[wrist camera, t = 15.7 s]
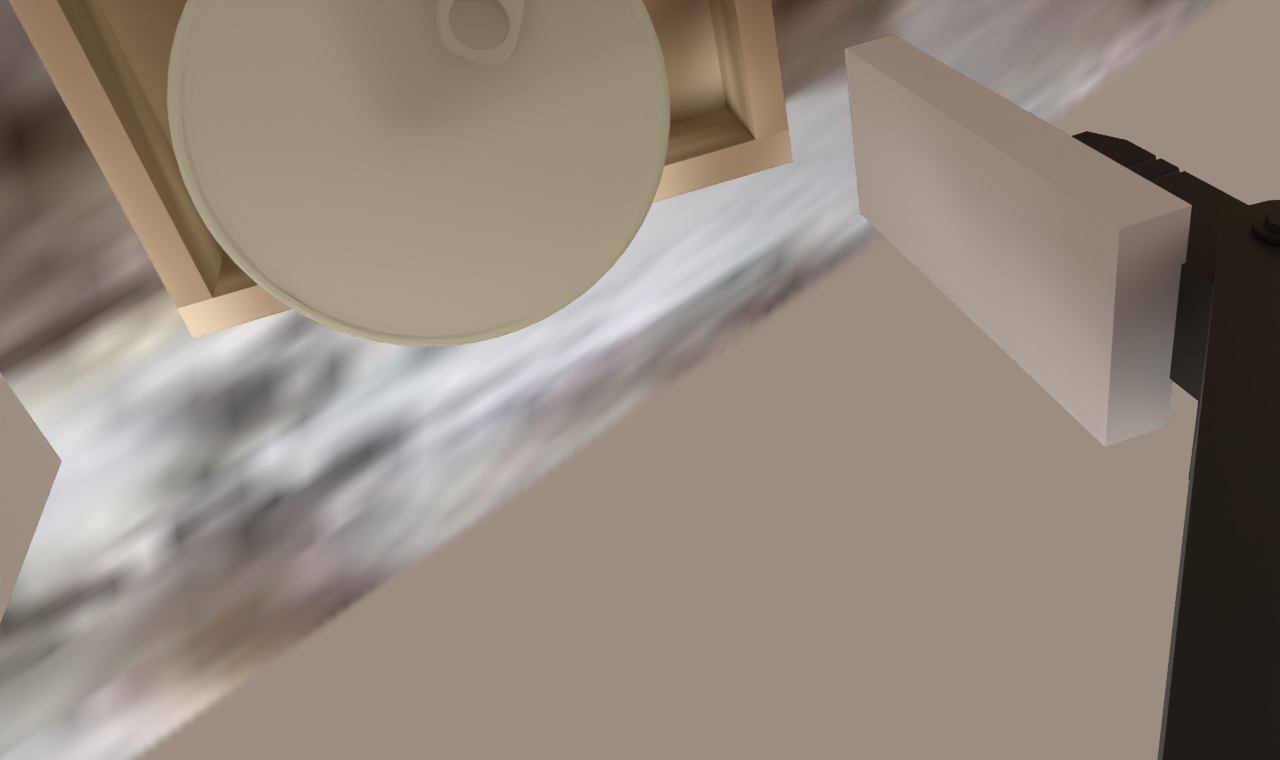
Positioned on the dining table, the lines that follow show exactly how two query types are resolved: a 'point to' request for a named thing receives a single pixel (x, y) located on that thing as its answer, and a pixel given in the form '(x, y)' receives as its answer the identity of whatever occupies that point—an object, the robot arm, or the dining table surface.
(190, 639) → the dining table surface
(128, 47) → the wooden tray
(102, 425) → the dining table surface
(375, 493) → the dining table surface
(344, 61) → the can
